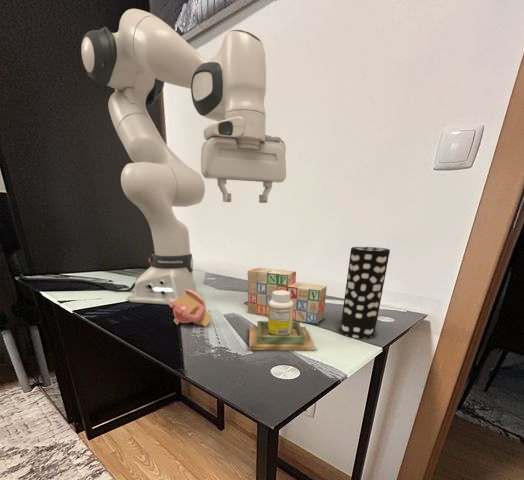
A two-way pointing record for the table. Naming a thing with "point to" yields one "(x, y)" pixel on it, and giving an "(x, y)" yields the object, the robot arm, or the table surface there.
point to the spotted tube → (363, 291)
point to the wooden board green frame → (279, 338)
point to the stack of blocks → (301, 294)
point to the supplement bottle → (280, 314)
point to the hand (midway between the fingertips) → (245, 202)
